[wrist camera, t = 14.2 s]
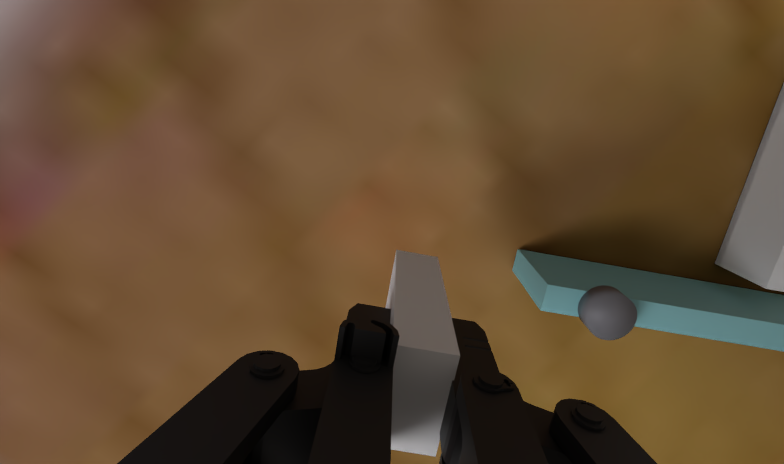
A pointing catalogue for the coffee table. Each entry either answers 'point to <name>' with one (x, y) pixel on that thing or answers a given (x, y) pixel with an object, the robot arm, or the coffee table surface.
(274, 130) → the coffee table surface
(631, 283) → the gate
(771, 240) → the white square tray
